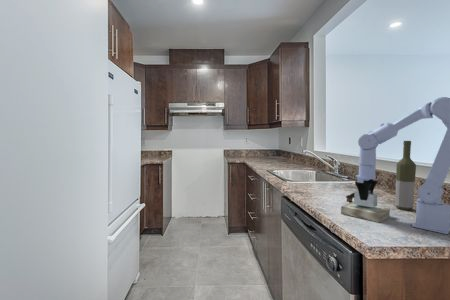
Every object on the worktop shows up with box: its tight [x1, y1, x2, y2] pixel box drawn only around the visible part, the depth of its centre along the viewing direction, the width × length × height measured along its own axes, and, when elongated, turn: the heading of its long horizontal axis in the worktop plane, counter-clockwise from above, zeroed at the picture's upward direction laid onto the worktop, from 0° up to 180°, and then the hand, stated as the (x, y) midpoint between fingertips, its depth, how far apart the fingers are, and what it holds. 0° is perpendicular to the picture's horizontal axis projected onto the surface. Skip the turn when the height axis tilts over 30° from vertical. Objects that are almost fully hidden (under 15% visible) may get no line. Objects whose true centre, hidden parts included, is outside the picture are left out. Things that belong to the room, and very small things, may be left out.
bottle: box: [395, 140, 417, 211], centre depth 113 cm, size 7×7×30 cm
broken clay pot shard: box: [345, 191, 355, 203], centre depth 117 cm, size 12×10×8 cm
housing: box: [353, 190, 379, 208], centre depth 102 cm, size 7×4×6 cm, turn 43°
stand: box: [340, 201, 391, 223], centre depth 103 cm, size 14×12×3 cm
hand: (365, 199), depth 102 cm, fingers open, 5 cm apart
